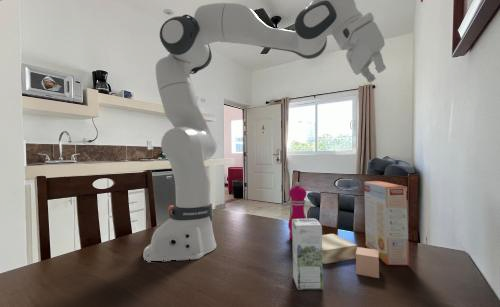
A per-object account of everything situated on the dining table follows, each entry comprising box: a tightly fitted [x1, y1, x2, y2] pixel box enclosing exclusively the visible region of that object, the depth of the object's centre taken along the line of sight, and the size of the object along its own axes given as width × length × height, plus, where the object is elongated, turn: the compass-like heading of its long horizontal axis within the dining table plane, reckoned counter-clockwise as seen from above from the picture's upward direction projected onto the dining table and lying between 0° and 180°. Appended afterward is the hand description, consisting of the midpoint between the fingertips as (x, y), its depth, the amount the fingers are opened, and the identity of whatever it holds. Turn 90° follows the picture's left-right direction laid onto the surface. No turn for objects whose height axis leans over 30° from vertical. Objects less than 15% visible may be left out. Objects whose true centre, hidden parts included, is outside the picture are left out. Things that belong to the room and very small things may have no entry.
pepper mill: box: [287, 181, 308, 240], centre depth 87 cm, size 7×7×20 cm
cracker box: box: [363, 180, 410, 266], centre depth 71 cm, size 14×6×21 cm, turn 176°
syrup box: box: [291, 218, 324, 291], centre depth 56 cm, size 6×6×14 cm
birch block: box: [322, 233, 358, 264], centre depth 73 cm, size 11×11×4 cm
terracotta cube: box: [355, 246, 380, 279], centre depth 61 cm, size 5×5×5 cm
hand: (377, 76), depth 68 cm, fingers open, 8 cm apart
